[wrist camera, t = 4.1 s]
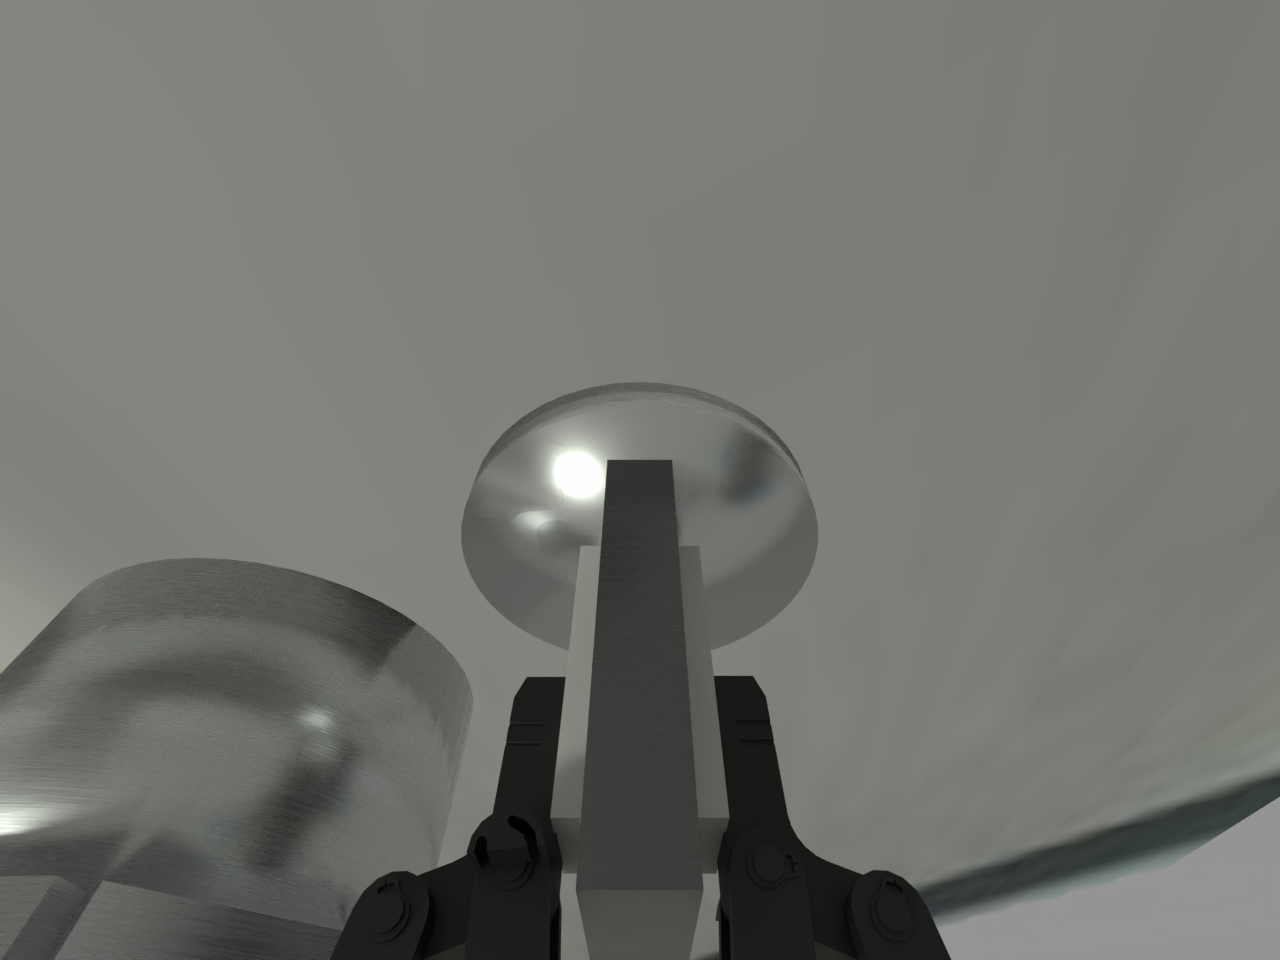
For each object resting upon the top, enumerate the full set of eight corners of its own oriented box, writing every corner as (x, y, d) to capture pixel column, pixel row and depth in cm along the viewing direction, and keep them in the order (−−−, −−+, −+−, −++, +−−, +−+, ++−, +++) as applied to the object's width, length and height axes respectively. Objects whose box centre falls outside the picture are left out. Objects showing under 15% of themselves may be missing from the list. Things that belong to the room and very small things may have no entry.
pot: (440, 544, 18) (271, 1008, 10) (524, 822, 32) (484, 1121, 23) (-69, 549, 18) (-698, 1023, 10) (232, 826, 32) (82, 1128, 23)
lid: (842, 381, 14) (1099, 844, 6) (780, 631, 20) (870, 1021, 13) (437, 381, 14) (180, 843, 6) (498, 631, 20) (409, 1021, 13)
